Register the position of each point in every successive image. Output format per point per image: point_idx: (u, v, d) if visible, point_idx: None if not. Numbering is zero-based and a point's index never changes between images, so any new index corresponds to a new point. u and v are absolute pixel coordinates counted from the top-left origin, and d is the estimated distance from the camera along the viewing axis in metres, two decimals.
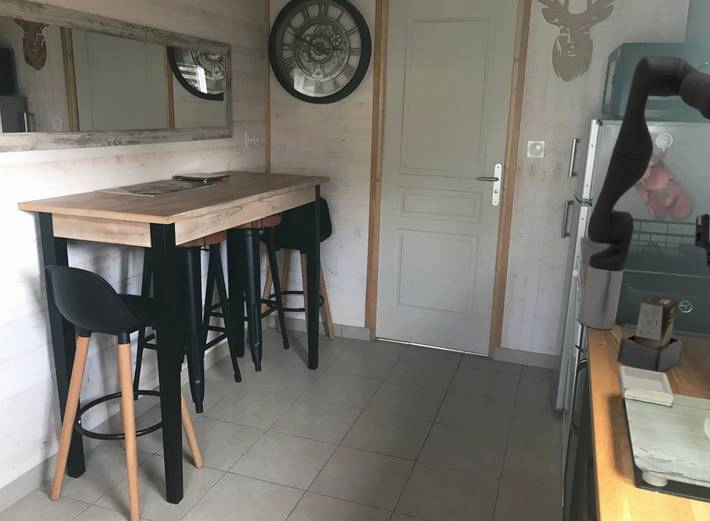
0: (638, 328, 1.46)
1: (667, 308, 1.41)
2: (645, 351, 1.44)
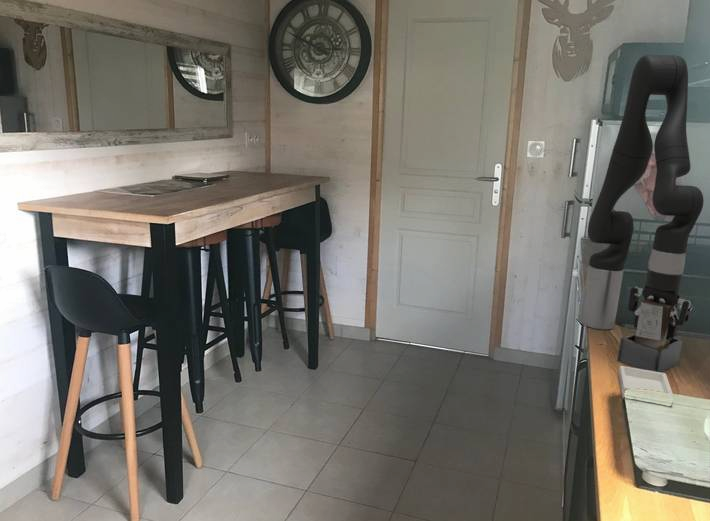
0: (638, 328, 1.46)
1: (667, 308, 1.41)
2: (645, 351, 1.44)
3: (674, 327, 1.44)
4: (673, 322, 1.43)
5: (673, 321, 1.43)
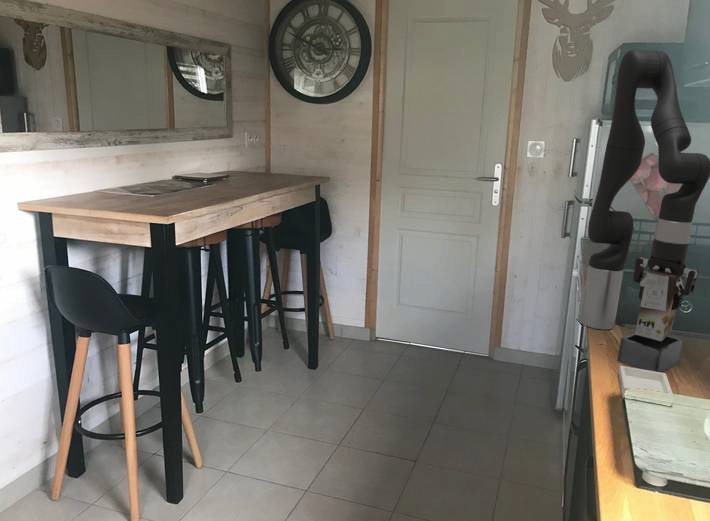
0: (643, 299, 1.44)
1: (673, 278, 1.40)
2: (645, 351, 1.44)
3: (679, 297, 1.42)
4: (678, 292, 1.41)
5: (678, 291, 1.41)
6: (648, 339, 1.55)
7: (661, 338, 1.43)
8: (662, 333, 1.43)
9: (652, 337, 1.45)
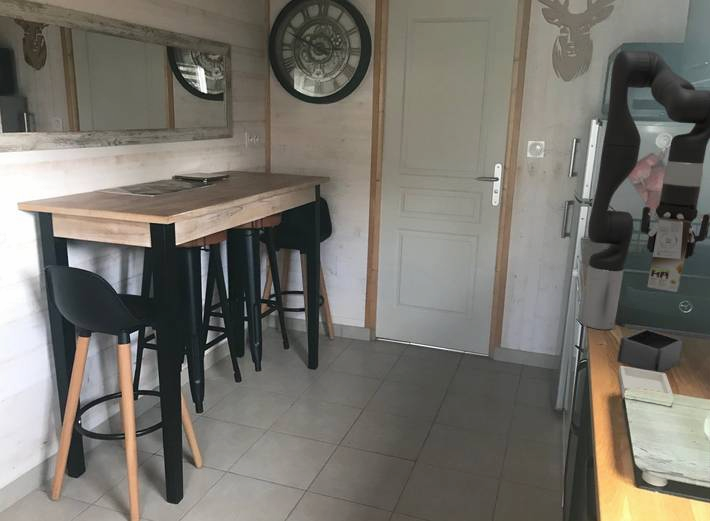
0: (656, 248, 1.36)
1: (688, 223, 1.32)
2: (645, 351, 1.44)
3: (693, 244, 1.34)
4: (692, 238, 1.34)
5: (692, 237, 1.34)
6: (648, 339, 1.55)
7: (676, 288, 1.35)
8: (677, 283, 1.35)
9: (666, 288, 1.36)
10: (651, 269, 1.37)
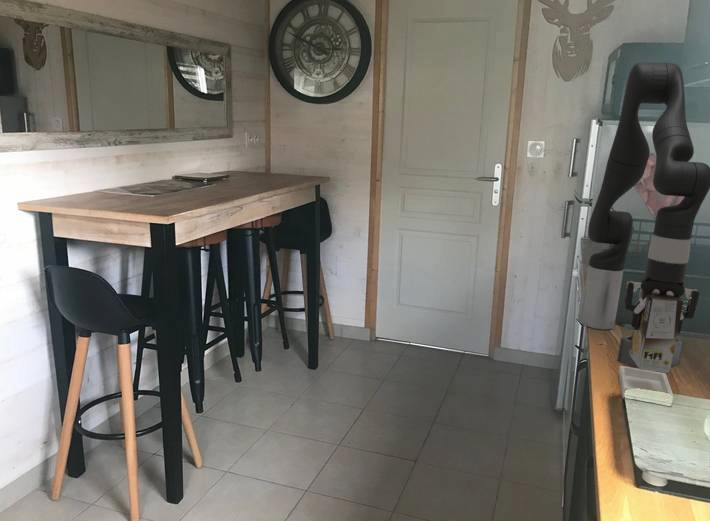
0: (649, 329, 1.26)
1: (681, 302, 1.24)
2: None
3: (681, 321, 1.28)
4: (681, 316, 1.27)
5: (681, 315, 1.27)
6: None
7: (669, 369, 1.28)
8: (670, 363, 1.28)
9: (659, 370, 1.28)
10: (644, 351, 1.28)
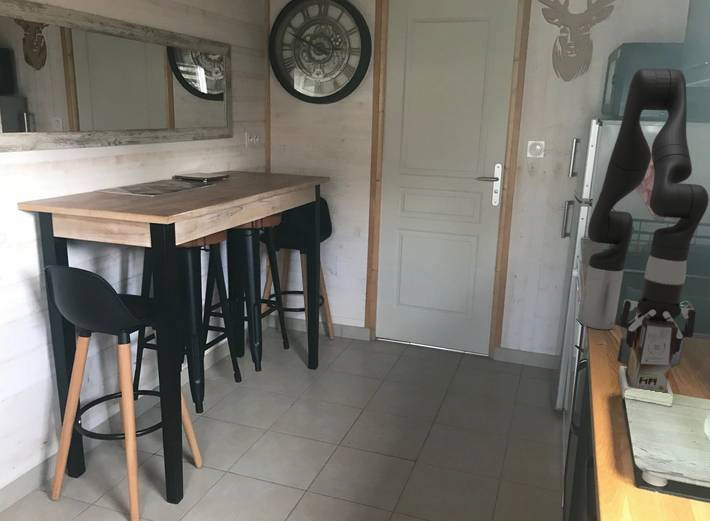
0: (644, 355, 1.28)
1: (676, 329, 1.26)
2: None
3: (680, 340, 1.29)
4: (680, 335, 1.28)
5: (680, 333, 1.28)
6: None
7: None
8: (665, 389, 1.29)
9: None
10: (639, 376, 1.29)
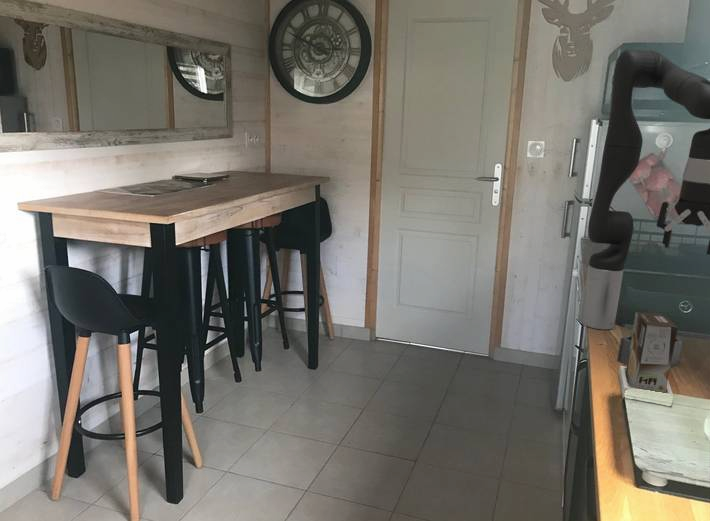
0: (644, 354, 1.28)
1: (676, 328, 1.26)
2: None
3: None
4: None
5: None
6: None
7: None
8: (665, 388, 1.29)
9: None
10: (639, 376, 1.29)
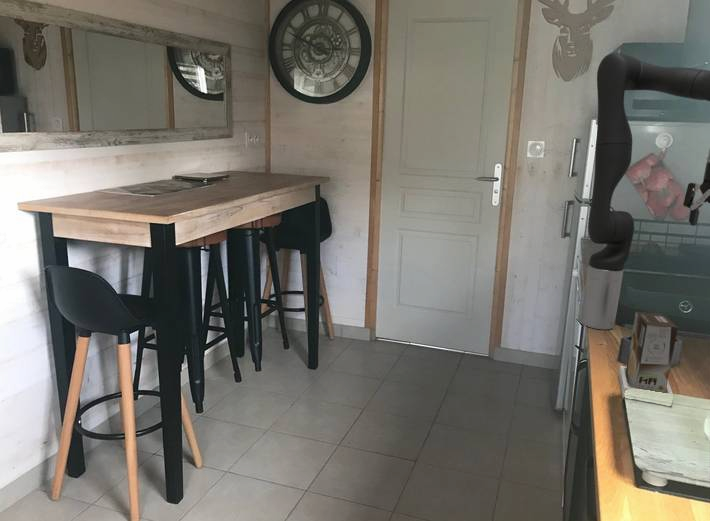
0: (644, 354, 1.28)
1: (676, 328, 1.26)
2: None
3: None
4: None
5: None
6: None
7: None
8: (665, 388, 1.29)
9: None
10: (639, 376, 1.29)
